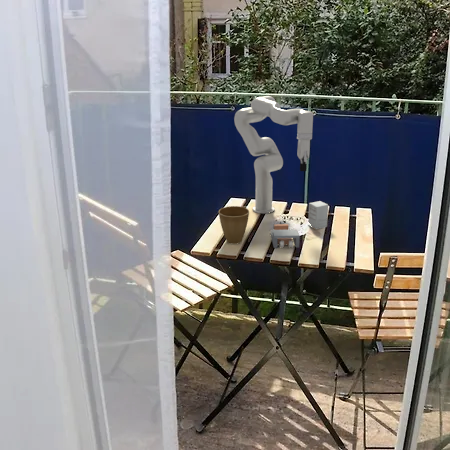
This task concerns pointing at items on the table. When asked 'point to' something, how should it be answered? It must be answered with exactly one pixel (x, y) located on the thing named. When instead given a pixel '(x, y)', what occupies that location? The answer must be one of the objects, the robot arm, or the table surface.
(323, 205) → the supplement box
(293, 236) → the bridge
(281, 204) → the table surface
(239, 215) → the plant pot
